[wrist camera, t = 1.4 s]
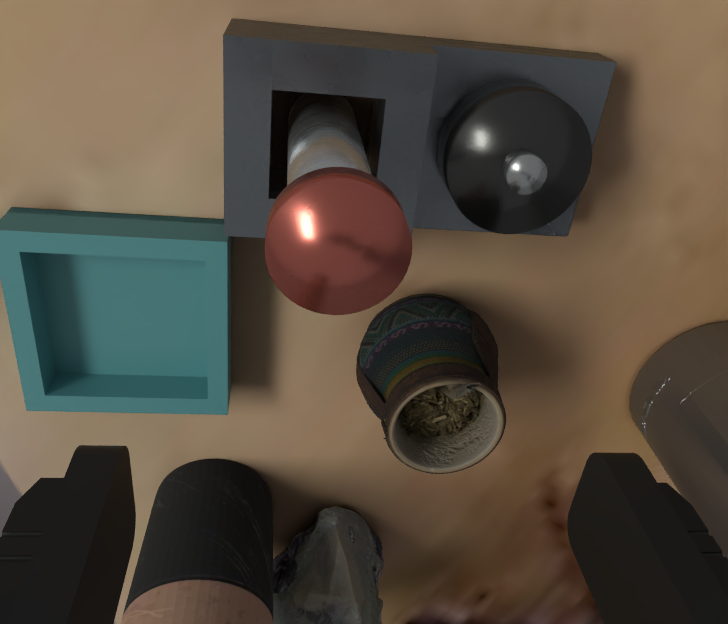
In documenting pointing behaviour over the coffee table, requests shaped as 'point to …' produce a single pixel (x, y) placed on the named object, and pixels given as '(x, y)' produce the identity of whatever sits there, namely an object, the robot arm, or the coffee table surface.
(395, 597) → the coffee table surface
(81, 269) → the tray
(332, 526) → the mineral rock
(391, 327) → the mate gourd
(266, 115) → the block
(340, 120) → the lock pin
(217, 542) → the travel mug
